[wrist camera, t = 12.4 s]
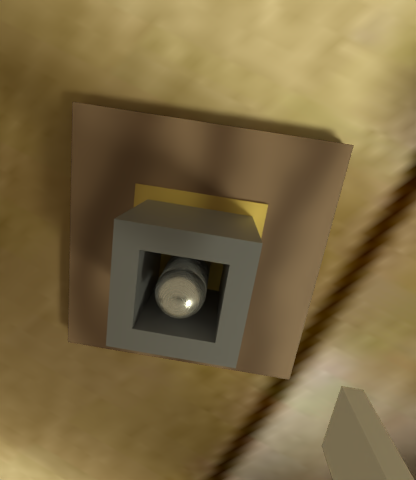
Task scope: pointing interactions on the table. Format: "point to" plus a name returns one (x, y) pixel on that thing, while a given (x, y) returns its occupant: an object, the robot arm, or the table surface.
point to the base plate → (208, 197)
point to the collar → (147, 273)
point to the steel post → (182, 286)
